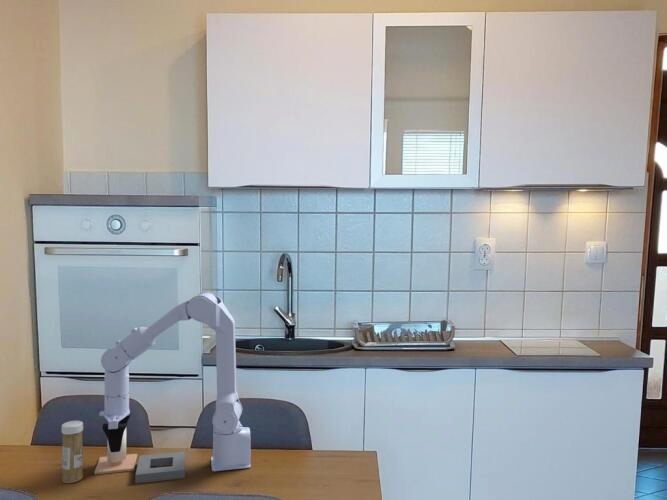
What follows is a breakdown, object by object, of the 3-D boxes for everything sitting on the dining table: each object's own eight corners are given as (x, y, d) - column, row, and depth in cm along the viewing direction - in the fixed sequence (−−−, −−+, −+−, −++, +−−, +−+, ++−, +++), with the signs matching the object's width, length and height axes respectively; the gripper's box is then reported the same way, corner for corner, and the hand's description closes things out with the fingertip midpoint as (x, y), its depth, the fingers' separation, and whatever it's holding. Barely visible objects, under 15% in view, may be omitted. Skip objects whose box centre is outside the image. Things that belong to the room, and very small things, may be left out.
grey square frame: (184, 459, 136) (184, 451, 136) (184, 478, 126) (184, 469, 125) (139, 463, 133) (139, 455, 133) (135, 483, 123) (135, 474, 123)
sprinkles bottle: (84, 481, 123) (84, 424, 123) (62, 485, 121) (62, 427, 121) (81, 473, 127) (81, 418, 127) (60, 478, 125) (60, 422, 124)
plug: (127, 454, 135) (127, 423, 135) (124, 461, 131) (124, 429, 130) (108, 455, 134) (109, 424, 134) (105, 463, 130) (105, 430, 129)
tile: (137, 455, 138) (137, 453, 138) (133, 470, 129) (133, 468, 129) (100, 459, 135) (100, 457, 135) (94, 474, 127) (94, 472, 127)
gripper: (104, 386, 138) (104, 438, 138) (94, 404, 124) (94, 461, 124) (132, 385, 140) (132, 435, 140) (126, 401, 126) (126, 458, 126)
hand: (116, 447), depth 132 cm, fingers closed on plug, 4 cm apart
